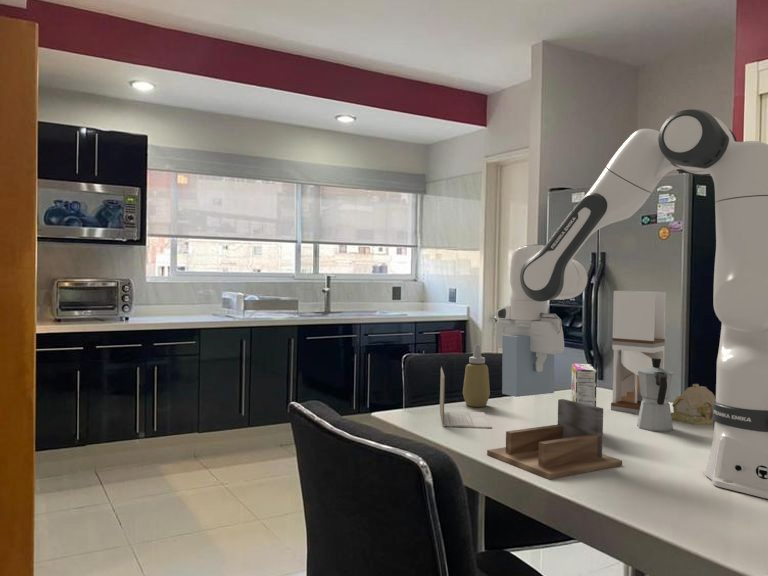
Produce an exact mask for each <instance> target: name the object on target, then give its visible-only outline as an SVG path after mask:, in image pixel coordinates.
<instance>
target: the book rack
mask: <svg viewBox="0 0 768 576" xmlns="http://www.w3.org/2000/svg"><path fill="white" fill-rule="evenodd" d="M603 434H604V408H603V407H599V406H596V407H595V406H591V405H586V404H582V403H578V402H574V401H571V400H569V399H565V398H560V399H559V398H558V401H557V424H552V425H545V426H537V427H535V426H534V427H529V428H521V429H513V430H507V431H505V447H504V446H503V447H498V448H492V449H491V448H490V449H486V456H489V457H492V458H494V459H496V460H499V461H502V462H505V463H508V464H509V465H512V466H515V467H517V468H519V469H522V470H525V471H527V472H530V473H532V474H535V475H537V476H540V477H542V478H544V479H548V480H553V479H558V478H564V477H569V476H572V475H573V476H574V475H578V474H584V473H589V472H590V473H591V472H593V471H600V470H604V469H611V468H615V466H616V467H620V465H621V466H623V460H622V459H619V458H616V457H613V456H610V455H607V454H604V453H603V440H604V439H603V438H604V437H603V436H604V435H603ZM610 467H611V468H610Z"/></svg>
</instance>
